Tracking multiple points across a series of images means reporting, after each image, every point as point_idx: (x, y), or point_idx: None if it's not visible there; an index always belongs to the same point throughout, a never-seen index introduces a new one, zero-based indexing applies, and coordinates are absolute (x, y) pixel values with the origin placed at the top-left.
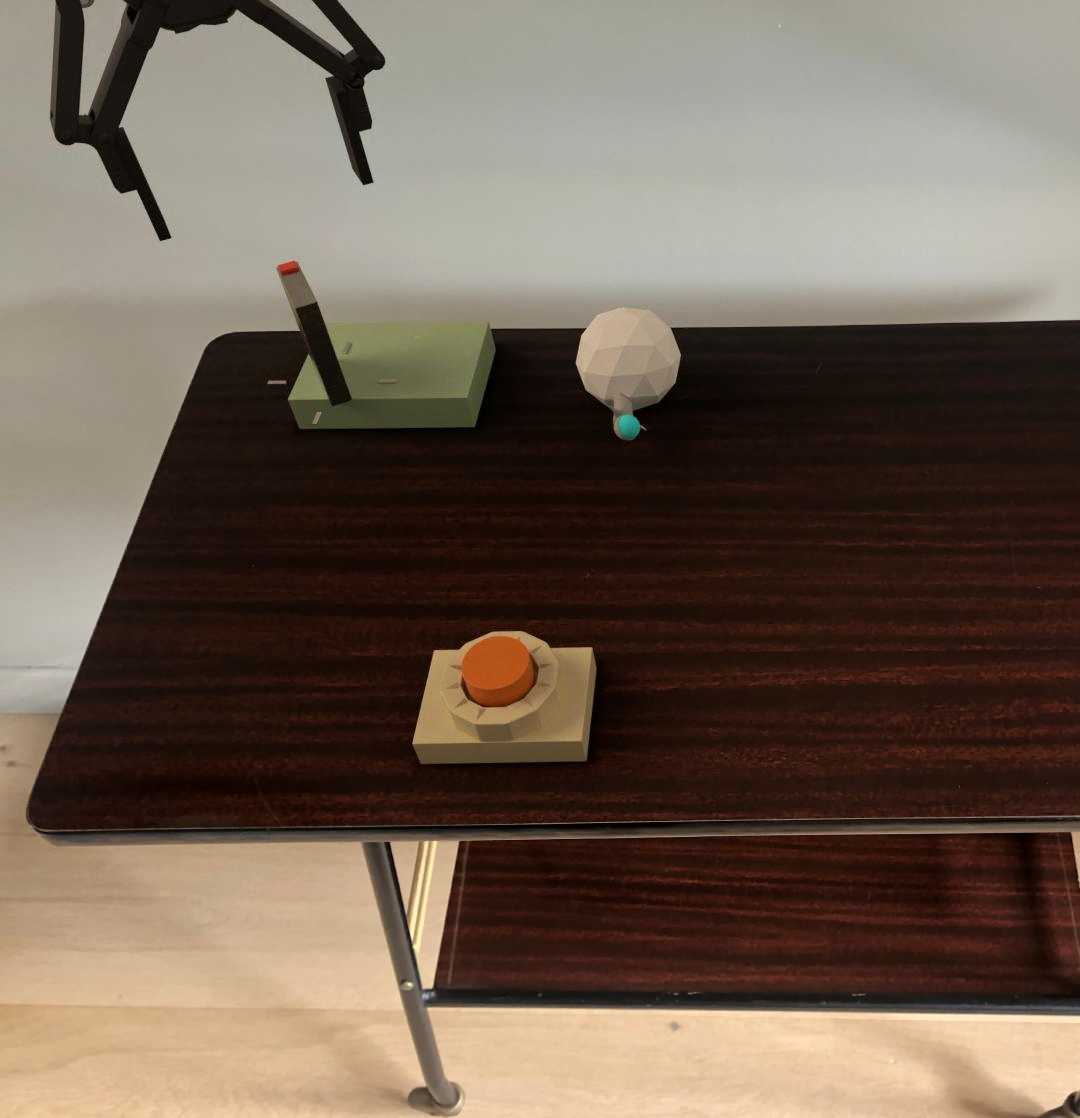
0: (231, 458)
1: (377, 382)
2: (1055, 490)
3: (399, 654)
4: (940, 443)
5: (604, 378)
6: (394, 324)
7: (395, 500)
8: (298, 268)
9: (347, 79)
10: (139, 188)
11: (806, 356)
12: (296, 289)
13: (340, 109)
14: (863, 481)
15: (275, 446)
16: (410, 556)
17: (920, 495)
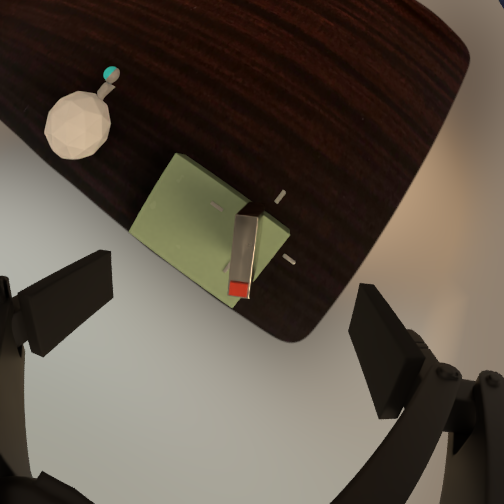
0: (339, 229)
1: (224, 211)
2: (28, 5)
3: (310, 10)
4: (30, 39)
5: (96, 101)
6: (186, 272)
7: (262, 115)
8: (230, 281)
9: (3, 299)
10: (394, 318)
11: (24, 120)
12: (245, 248)
13: (46, 288)
14: (62, 24)
15: (310, 222)
16: (275, 65)
17: (55, 11)
